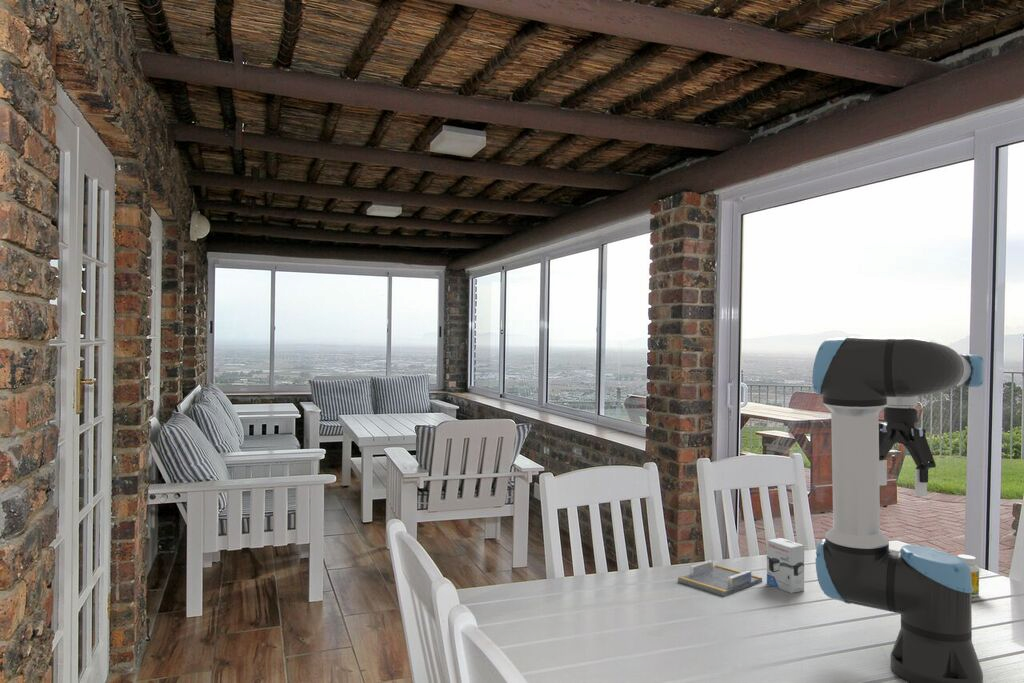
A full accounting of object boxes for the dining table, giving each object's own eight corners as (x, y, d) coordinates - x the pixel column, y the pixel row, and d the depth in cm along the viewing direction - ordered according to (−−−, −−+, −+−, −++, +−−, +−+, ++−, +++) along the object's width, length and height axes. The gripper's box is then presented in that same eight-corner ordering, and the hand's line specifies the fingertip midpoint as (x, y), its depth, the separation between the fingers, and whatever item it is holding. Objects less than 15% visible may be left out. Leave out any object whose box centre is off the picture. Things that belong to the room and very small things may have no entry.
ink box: (765, 583, 186) (766, 539, 186) (779, 581, 188) (779, 537, 188) (790, 593, 178) (791, 547, 178) (805, 591, 180) (805, 545, 180)
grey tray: (723, 596, 175) (724, 582, 176) (677, 582, 186) (677, 568, 186) (762, 581, 187) (762, 568, 187) (716, 569, 198) (716, 556, 198)
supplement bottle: (952, 589, 183) (952, 552, 183) (976, 592, 181) (976, 555, 181) (956, 595, 178) (956, 558, 178) (981, 599, 176) (981, 560, 176)
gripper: (952, 410, 167) (952, 499, 166) (878, 403, 191) (878, 480, 191) (925, 410, 165) (925, 500, 165) (854, 403, 190) (854, 481, 189)
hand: (900, 490), depth 178 cm, fingers open, 13 cm apart
